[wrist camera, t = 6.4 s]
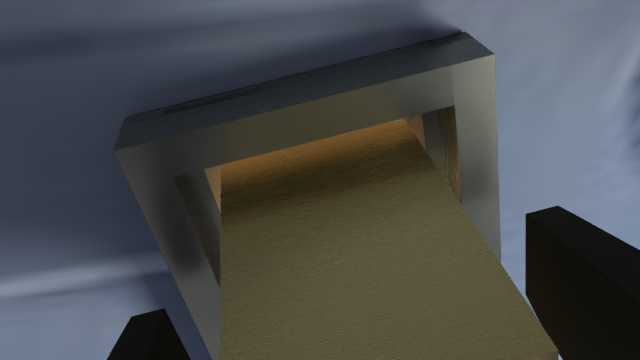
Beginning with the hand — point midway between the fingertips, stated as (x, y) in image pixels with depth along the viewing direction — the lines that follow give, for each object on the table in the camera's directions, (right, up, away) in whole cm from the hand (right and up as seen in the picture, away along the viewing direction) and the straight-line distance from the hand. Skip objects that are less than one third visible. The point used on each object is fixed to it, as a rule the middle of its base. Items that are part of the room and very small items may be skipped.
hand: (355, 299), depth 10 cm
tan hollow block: (0, +1, +2) cm, 3 cm away
